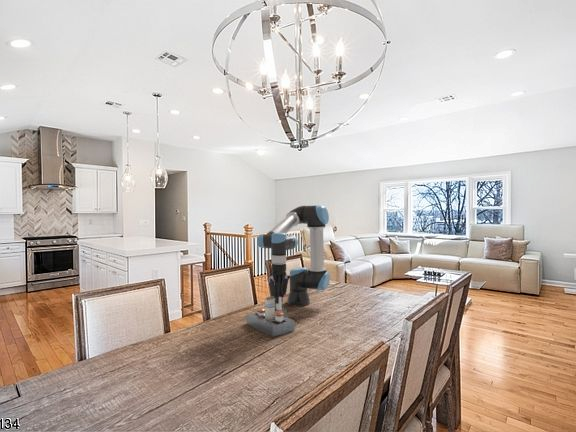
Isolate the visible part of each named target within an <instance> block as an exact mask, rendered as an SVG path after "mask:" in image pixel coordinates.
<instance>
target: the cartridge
mask: <svg viewBox="0 0 576 432" xmlns="http://www.w3.org/2000/svg"><path fill="white" fill-rule="evenodd" d="M264 308H265V319H266V320H268V321H269V320H273V319H275V315H274V312H275V297H274V296H272V295H271V296H266V297H265V300H264Z"/></svg>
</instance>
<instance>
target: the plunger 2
mask: <svg viewBox="0 0 576 432" xmlns="http://www.w3.org/2000/svg"><path fill="white" fill-rule="evenodd" d="M274 315H275V324H280V323H283V315H284V312H283V311H275V312H274Z"/></svg>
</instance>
